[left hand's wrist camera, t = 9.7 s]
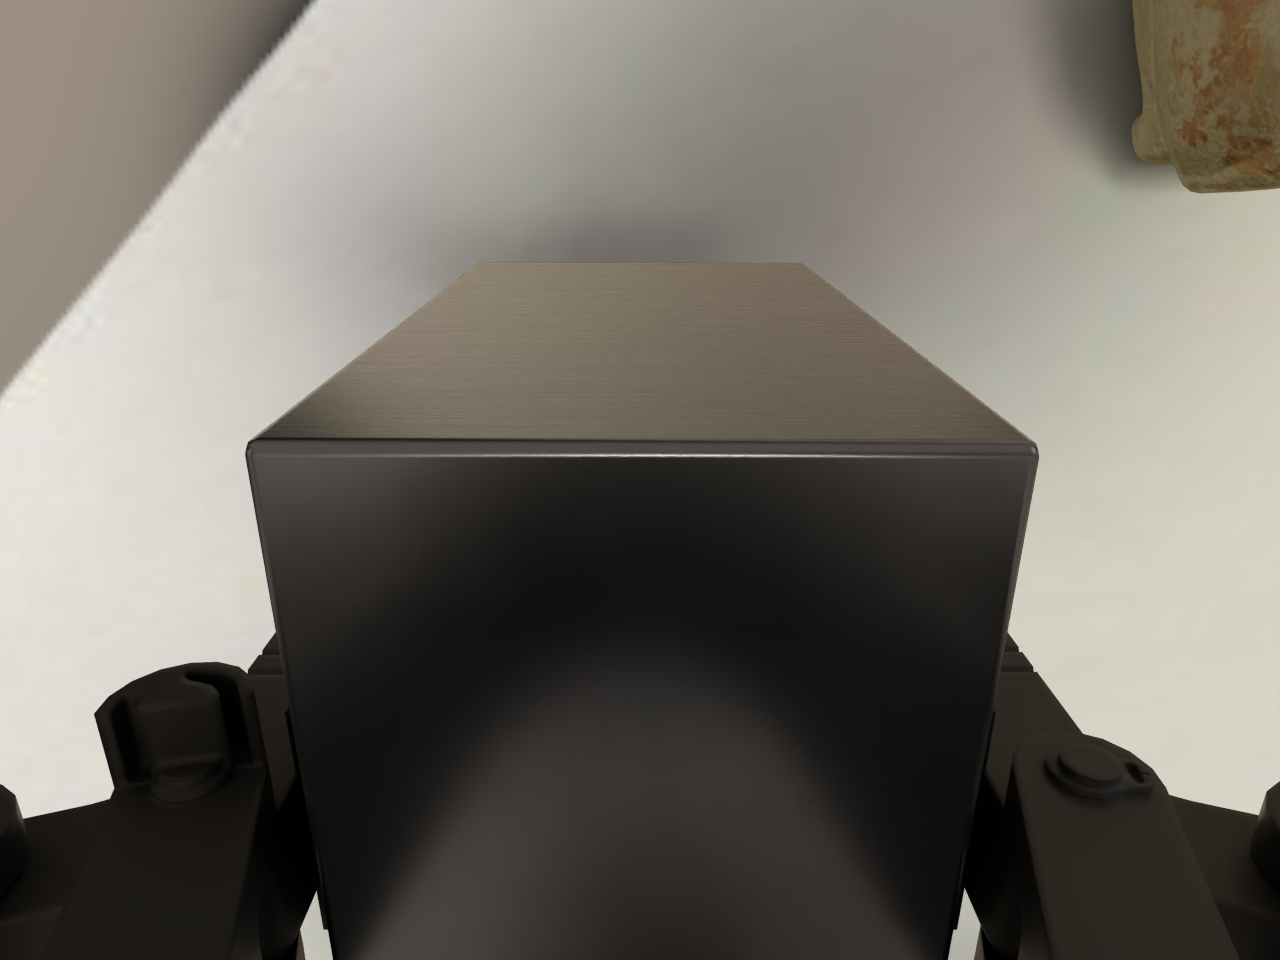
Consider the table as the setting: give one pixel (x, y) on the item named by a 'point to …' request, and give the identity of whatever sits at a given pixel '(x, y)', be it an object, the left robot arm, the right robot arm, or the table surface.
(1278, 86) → the sculpture
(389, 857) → the bar
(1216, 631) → the table surface
